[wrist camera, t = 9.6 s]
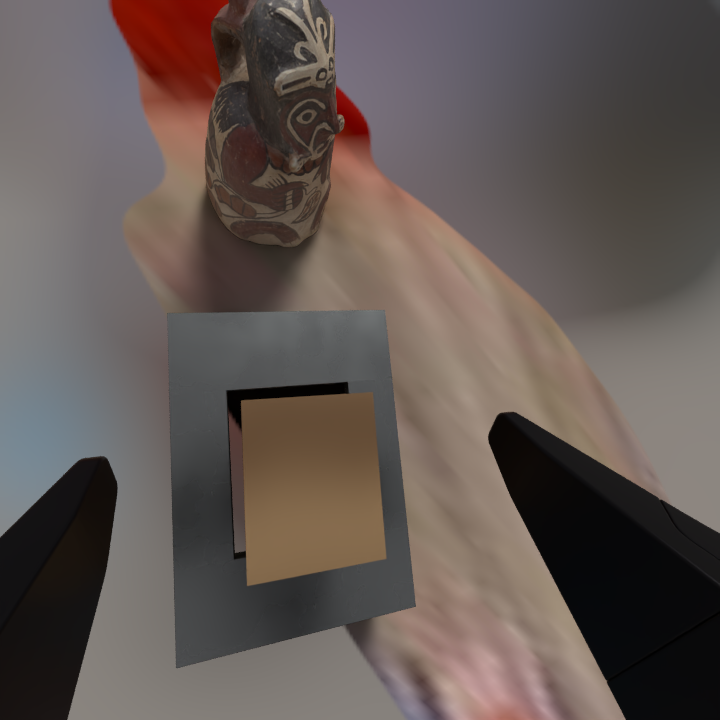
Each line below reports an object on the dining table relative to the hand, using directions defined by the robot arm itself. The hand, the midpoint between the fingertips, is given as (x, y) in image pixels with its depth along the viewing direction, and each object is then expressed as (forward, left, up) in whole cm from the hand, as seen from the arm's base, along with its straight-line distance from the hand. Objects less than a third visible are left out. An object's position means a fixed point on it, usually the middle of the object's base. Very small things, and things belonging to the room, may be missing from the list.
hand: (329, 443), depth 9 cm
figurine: (+14, -5, -14) cm, 20 cm away
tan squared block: (-1, 0, -14) cm, 14 cm away
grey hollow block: (-1, 0, -14) cm, 14 cm away
